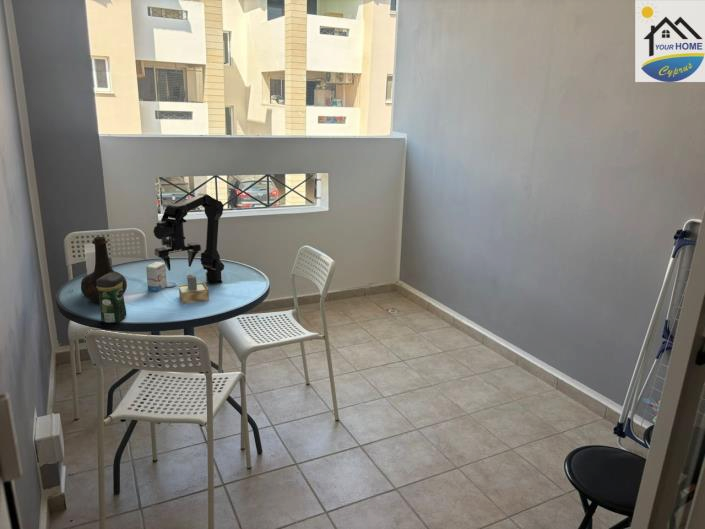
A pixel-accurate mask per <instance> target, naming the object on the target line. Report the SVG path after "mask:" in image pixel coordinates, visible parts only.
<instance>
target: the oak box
mask: <svg viewBox="0 0 705 529" xmlns="http://www.w3.org/2000/svg"><path fill="white" fill-rule="evenodd" d="M196 283H197V285H199V284H202V285H203V286H204V288H205V289H203V290H195V291H188V292H182V293H181V291H180V289H179V287H183V286H188V283H187V284H179V285H178V294H179V298H180V301H181V302H182V304H183V305H185V304H186V305H187V304H193V303H199V302H208V301H210V290H209V288H208V286H207V284H206V283H205V282H196Z"/></svg>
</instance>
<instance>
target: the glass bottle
mask: <svg viewBox="0 0 705 529" xmlns="http://www.w3.org/2000/svg"><path fill="white" fill-rule="evenodd" d="M108 243H109V240H106V237H105V236H95V237H94V238H93V240H92V242H91V244H95V269H94V272H93V273H91V274H89V275H88V274H87V275H86V276H84V277H83V278H82V279H81V281H80V283H81V284H80V291H81V293H82V295H83V296H84V297H85V298H86V299H87V300H89V301H91V302H92V303H98V304H100V298H99V292H98V289H97V282H96V280H97V279H99V278H100V277H102V276H104V275H106V274H108V273H119V274H120V275H121V277H122V290H123V295H124V294H125V293H126V291H127V287H128V282H127V279H126V277H125V276H124V275H123V274H122V273H120V272H117V271H115V270H114V269H113V267H112V264H111V262H110V261H111V260H110V257H109V253H108V247H107V244H108Z"/></svg>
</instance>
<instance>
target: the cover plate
mask: <svg viewBox="0 0 705 529" xmlns="http://www.w3.org/2000/svg"><path fill="white" fill-rule="evenodd" d="M186 279H187V281H186V282H187V284H188V286H183V287H179V286H178V290H179V289H180V291H181V293H182V292H188V291H195V290H203V289H205V288H204V286H203V285H202V284H199V285H197V283H198V282H197V277H196V275H195V274H194V273H192V274H187V275H186Z"/></svg>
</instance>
